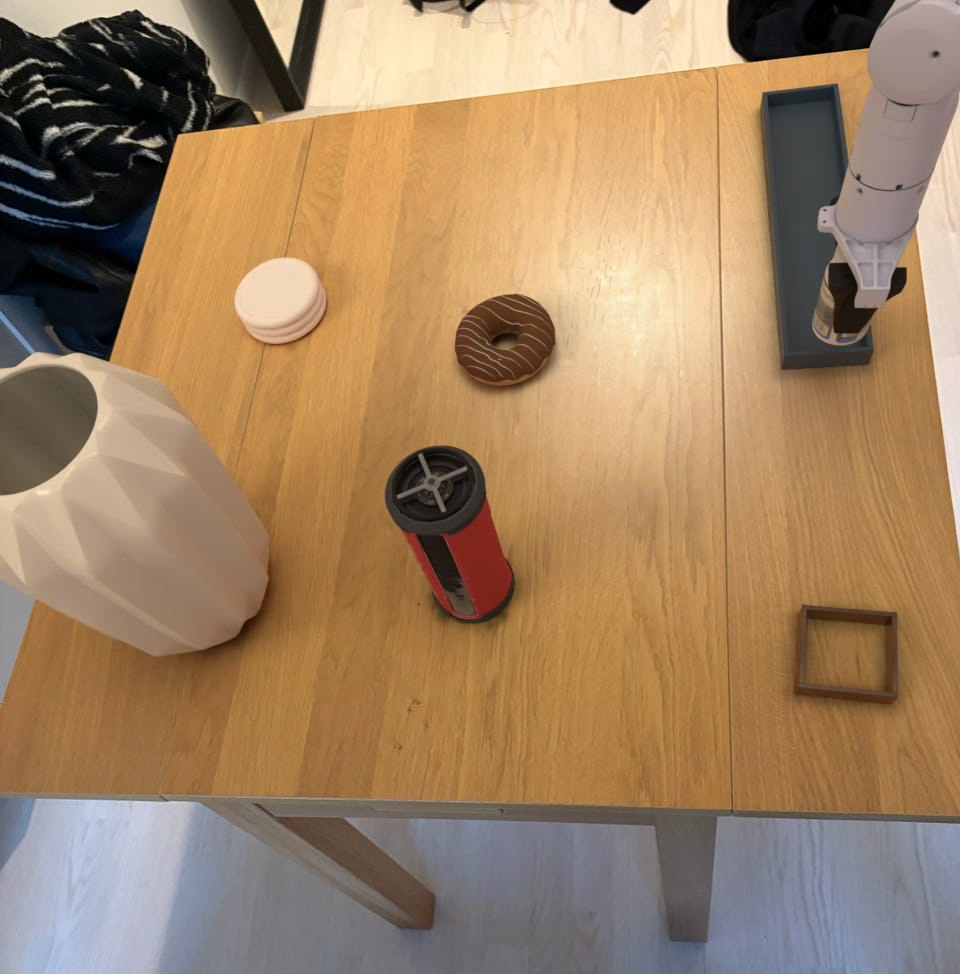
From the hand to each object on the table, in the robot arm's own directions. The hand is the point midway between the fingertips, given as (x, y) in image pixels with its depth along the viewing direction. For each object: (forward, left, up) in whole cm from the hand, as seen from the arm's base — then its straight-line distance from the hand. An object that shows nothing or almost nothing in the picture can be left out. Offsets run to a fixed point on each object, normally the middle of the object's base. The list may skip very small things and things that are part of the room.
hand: (846, 305), depth 70 cm
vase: (+63, +5, -10) cm, 64 cm away
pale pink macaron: (+51, -29, -10) cm, 60 cm away
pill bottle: (0, 0, -3) cm, 3 cm away
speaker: (+37, +12, -10) cm, 40 cm away
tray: (-6, -19, -9) cm, 22 cm away
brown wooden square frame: (+9, +27, -9) cm, 30 cm away
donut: (+28, -14, -10) cm, 33 cm away
